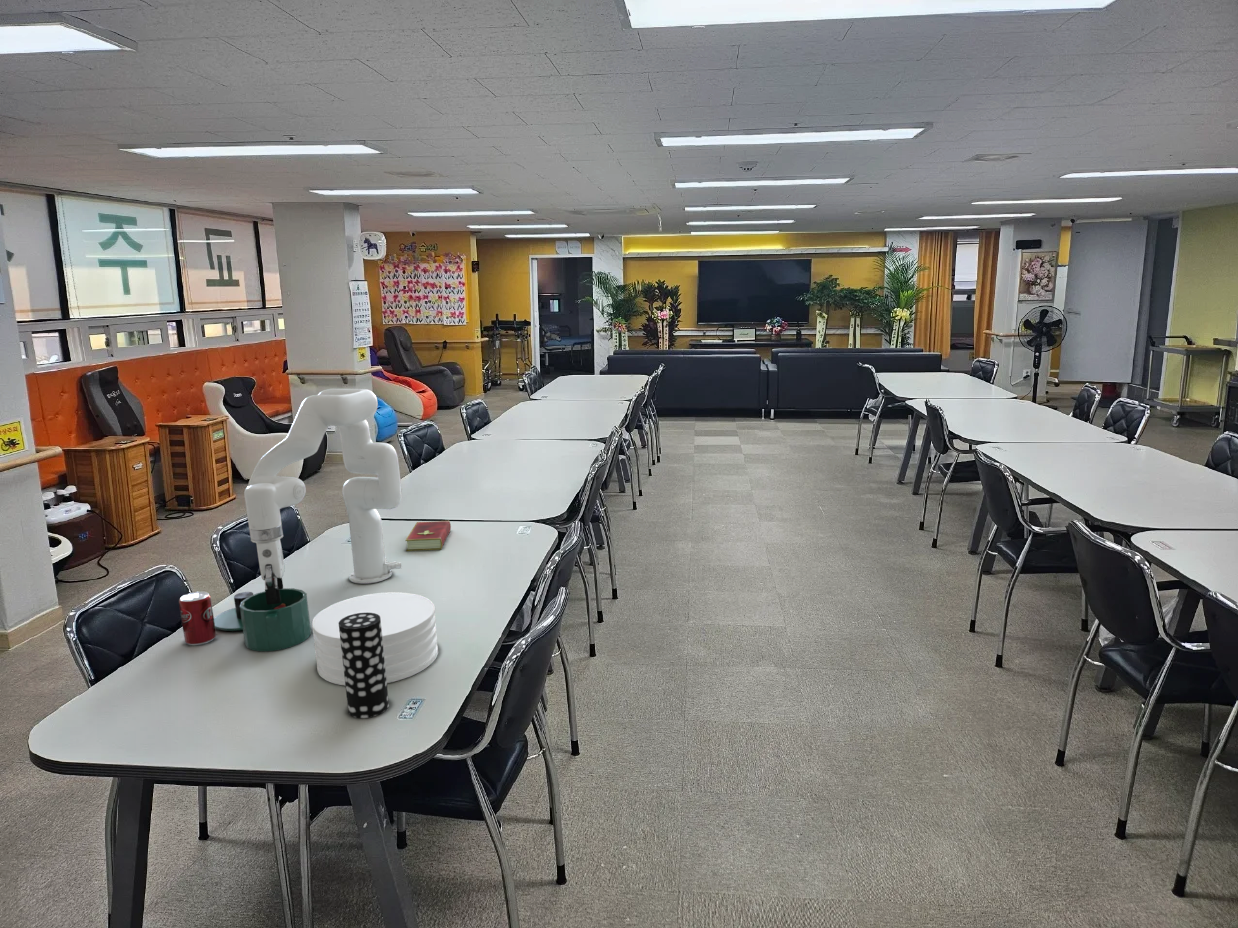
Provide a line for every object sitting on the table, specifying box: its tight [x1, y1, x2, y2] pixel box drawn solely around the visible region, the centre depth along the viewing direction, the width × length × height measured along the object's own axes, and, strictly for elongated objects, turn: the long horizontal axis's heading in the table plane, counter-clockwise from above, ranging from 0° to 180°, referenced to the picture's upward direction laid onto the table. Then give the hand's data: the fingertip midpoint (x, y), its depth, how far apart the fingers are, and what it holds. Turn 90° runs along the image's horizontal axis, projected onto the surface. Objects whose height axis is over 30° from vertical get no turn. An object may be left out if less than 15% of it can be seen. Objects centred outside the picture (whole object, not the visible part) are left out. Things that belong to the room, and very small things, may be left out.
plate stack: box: [311, 591, 439, 686], centre depth 197 cm, size 28×28×12 cm
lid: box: [214, 591, 254, 632], centre depth 223 cm, size 17×17×7 cm
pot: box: [240, 587, 312, 652], centre depth 210 cm, size 16×21×10 cm
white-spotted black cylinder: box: [339, 613, 390, 719], centre depth 173 cm, size 8×8×20 cm
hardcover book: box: [405, 520, 452, 552], centre depth 287 cm, size 12×21×4 cm, turn 3°
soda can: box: [178, 591, 217, 646], centre depth 210 cm, size 7×7×12 cm
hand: (275, 596), depth 210 cm, fingers open, 9 cm apart
